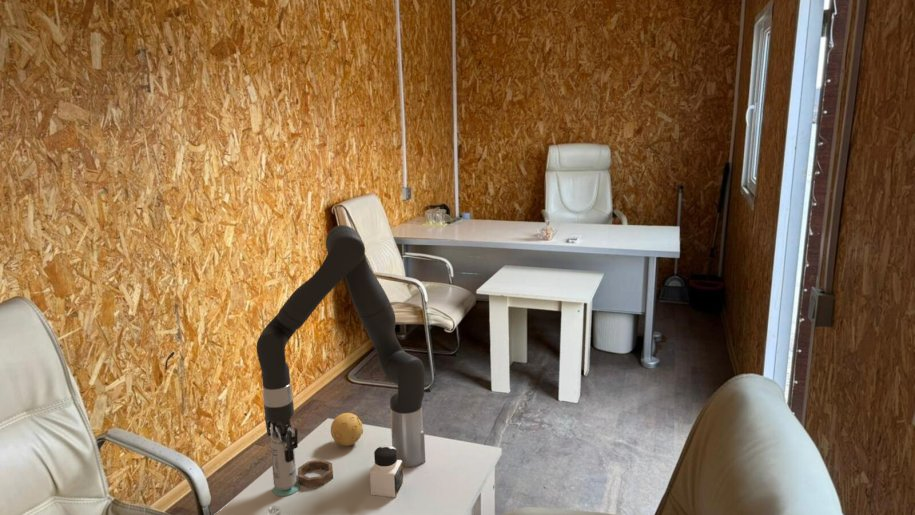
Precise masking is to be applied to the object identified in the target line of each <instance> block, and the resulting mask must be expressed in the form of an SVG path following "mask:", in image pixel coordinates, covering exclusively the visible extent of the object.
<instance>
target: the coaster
mask: <svg viewBox="0 0 915 515" xmlns="http://www.w3.org/2000/svg"><path fill="white" fill-rule="evenodd" d="M299 490H300V484H299V483H298V481H297V480H296V483H295V484H294V486H293V487H292V488H290V489H287V490H279V489H277V488H276V486H274V485H273V489H272V492H273V494H274V495H275V496H277V497H288V496H292V495H294V494H296V493H297V492H298V491H299Z"/></svg>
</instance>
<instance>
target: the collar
mask: <svg viewBox="0 0 915 515" xmlns="http://www.w3.org/2000/svg"><path fill="white" fill-rule="evenodd" d="M317 470H318V471H319V470H321V471H322V470H323V471H325V473H323V474H322V475H319V476H313V477H309V476H307V475H306V474H307V473H309V472H312V471H317ZM333 479H334V470H333V463H332V462H329V461H327V460H324V459H316V460H309V461H306V462H305V463H303V464H302V465H300V466H299V467H298V468H297V480H298V481H297V482H298V483H299V486H303V487H305V488H309V489H311V488H317V487H323V486H325V485H327V484H328V483H329V482H331V481H332V480H333Z"/></svg>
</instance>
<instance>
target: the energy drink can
mask: <svg viewBox="0 0 915 515" xmlns="http://www.w3.org/2000/svg"><path fill="white" fill-rule="evenodd" d="M286 437H287V436H284V437H283V438H286ZM286 444H287V441H286ZM284 450H285V449H284V446H283V443H282V442H280V439H279V436H278V435H277V434H276V433H274V434H273V436H272V440H271V439H270V452H271V453H270V454H271V455H270V456H271V465H272V466H271V467H272V481H273V487H274V486H276V488H277V489H279V490H287V489H290V488H292V487H293V486H294V484H295V483H296V481H297V471H296V470H297V469H296V468H297V467H296V457H295V456H296V455H295V454H296V453H295V449H293V452H294V460H293V461H291V462H288V463H287V462H286V461H285V452H284Z"/></svg>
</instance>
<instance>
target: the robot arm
mask: <svg viewBox="0 0 915 515" xmlns="http://www.w3.org/2000/svg"><path fill="white" fill-rule="evenodd" d="M325 248H326V251H327V255H326V256H325V258H324V260H323V262H322V264H321V266H320V267H319V268H318V270H317V271H316V272H315V273H314V274H313V275H312V276H311V277H310V278H309V279H307V280H306V281H305V282H303V284H301V285H300V286H299V287H298V288H296V289H295V290H294V292H293V293H292V294H291V295H290V296H289V297H288V298H287V300H286V301H285V302H284V304H283V305H282V307H281V308H280V309H279V311H278V313H277V314H276V315H275V316H274V317H273V318H272V319H271V321H269V323H268V324H267V325H266V326H265V328H264V329H263V330H262V331H261V333H260V335H259V337H258V340H257V341H256V354H257V360H258V363H259V366H260V370H261V382H262V400H263V409H264V421H265V427H266V432H267V433H266V434H267V436H268V437H270V441H271V440H272V436H273V434H274V433H276V434H277V435H278V436H279V439H280V442H282V443H283V446H284V449H285V450H284V452H285V461H286V462H287V463H288V462H291V461H293V460H294V453H295V451H294V452H293V449H294V450H295V449H298V448H299V447H298V444H299V442H298V440H299V438H298V429H297V427H294V428H293V427H292V424H291V418H292V417H293V416H294V414H295V407H294V397H293V389H292V388H293V387H292V385H291V375H290V367H289V364H288V363H287V360H286V346H287V344H288V342H289V341H290V339H291V338H292V336H293V335H294V334H295V332H296V331H297V330H299V329H300V328H301V327H302V326H303V325H304V324H305V323H306V322H307V320H308V319H309V318H310V316H312V314H313V312H315V310H316V308H317V307H318V306H319V305H320V303H321V302H323V300H324V299H325V298H326V297H327V295H328V294H329V293H330V292H331V291H332V290H333V289H334V288H335V287H336V286H337V285H339V283H340V282H341V281H342V280H343V279H345V280H344V281H345V283H346V285H347V286H346V287H347V289H348V293H349V294H350V298H351V301H352V303H353V307H354V309H355V311H356V313H357V315H358V318H359V320H360V322H361V324H362V325H363V327H364V329H365V331H366V333H367V335H368V337H369V340H370V341H371V343H372V345H373V347H374V350H375V351H376V355H377V358H378V361H379V363H380V366H381V369H382V372H383V374H384V376H385V377H386V378H387V379H388V380H389V381H390V382H391V383H393V384H396V385H397V392H396V393H394V394H393V395H391V397H390V399H389V409H390V411H389V412H390V427H391V428H390V430H391V446H392V447H394V448H395V449H396V451H397V460H402V468H413V467H417V466H419V465H420V464H422V463H426V447H425V446H426V441H425V431H424V428H423V427H424V426H423V399H424V397H425V383H426V382H425V374H426V372H425V366H424V363H423V361H422V360H421V359H420V358H418V357H417V356H415V355H412V354H410V353H408V352H406V351H405V350H404V349H403V347H402V345H401V344H400V341H399V340H398V338H397V335H396V330H395V329H396V314H395V311H394V309H393V306H392V304H391V302H390V300H389V297H388V295H387V293H386V292H385V289H384V288H383V287H382V285H381V283H380V282H379V280H378V278H377V276H376V275H375V274H374V272H373V270H372V268H371V267H370V264H369V262H368V260H367V257H366V255H365V254H366V247H365V243H364V242H363V240H362V237H361V236H360V234H359V232H357V230H355V229H354V228H352V227H351V226H349V225H343V224H342V225H336V226H333V227H332V229H331V230H329V232H328V234H327V235H326V240H325ZM284 436H287V437H286V438H283V437H284ZM286 441H287V444H286Z"/></svg>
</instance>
